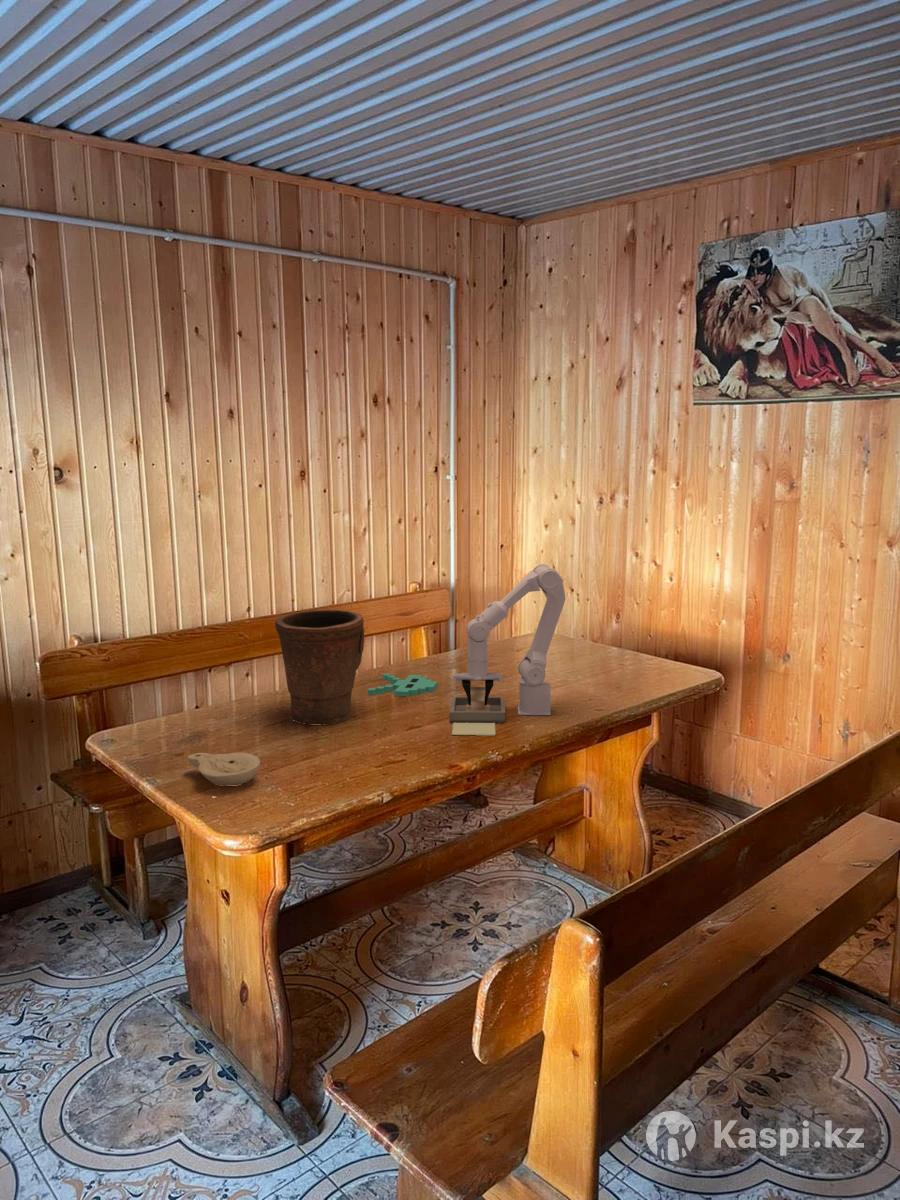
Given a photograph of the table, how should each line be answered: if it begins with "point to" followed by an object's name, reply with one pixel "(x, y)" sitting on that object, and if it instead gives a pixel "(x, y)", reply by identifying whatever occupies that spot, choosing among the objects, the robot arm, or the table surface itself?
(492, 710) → the box
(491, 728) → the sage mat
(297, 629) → the clay pot
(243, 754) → the oil lamp
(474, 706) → the brown block
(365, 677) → the table surface
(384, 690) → the alien figure
